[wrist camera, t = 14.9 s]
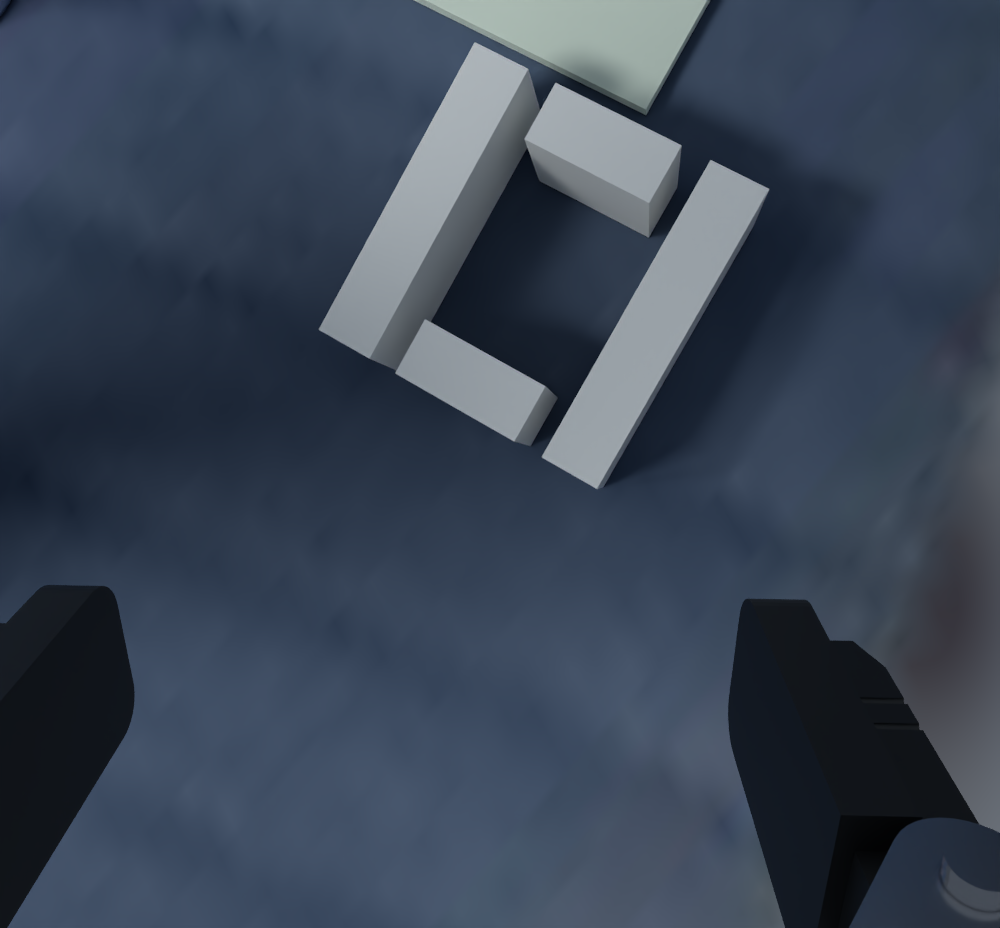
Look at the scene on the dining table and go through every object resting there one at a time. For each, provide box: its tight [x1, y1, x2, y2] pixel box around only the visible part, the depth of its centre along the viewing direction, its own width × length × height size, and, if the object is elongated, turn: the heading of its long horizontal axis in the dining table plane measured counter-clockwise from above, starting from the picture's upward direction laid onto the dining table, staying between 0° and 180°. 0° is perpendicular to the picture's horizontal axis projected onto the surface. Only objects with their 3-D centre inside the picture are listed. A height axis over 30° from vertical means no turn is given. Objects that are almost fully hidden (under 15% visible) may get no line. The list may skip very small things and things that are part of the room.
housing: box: [319, 43, 769, 489], centre depth 30 cm, size 10×10×4 cm
